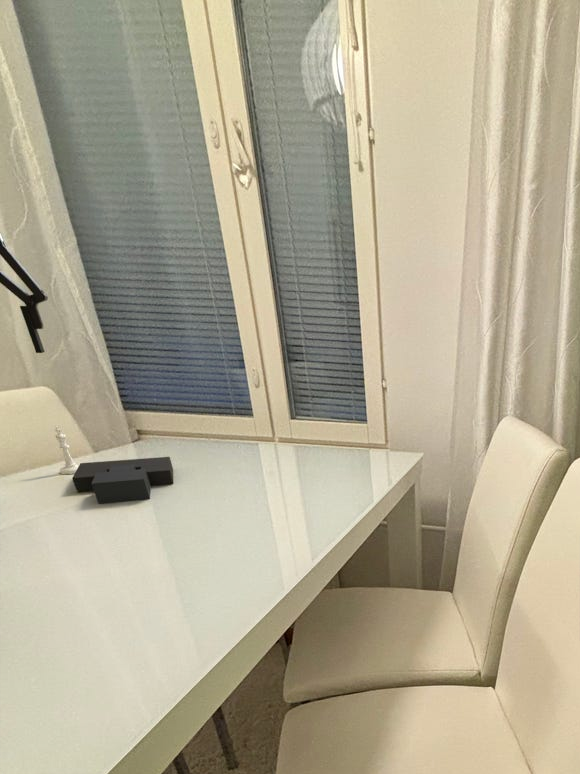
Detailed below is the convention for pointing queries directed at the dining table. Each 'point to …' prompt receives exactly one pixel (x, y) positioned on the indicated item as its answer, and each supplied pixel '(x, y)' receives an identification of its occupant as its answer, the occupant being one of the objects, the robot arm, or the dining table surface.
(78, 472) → the notch mat
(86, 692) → the dining table surface
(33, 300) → the robot arm
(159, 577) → the dining table surface
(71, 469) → the chess piece
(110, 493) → the pad
